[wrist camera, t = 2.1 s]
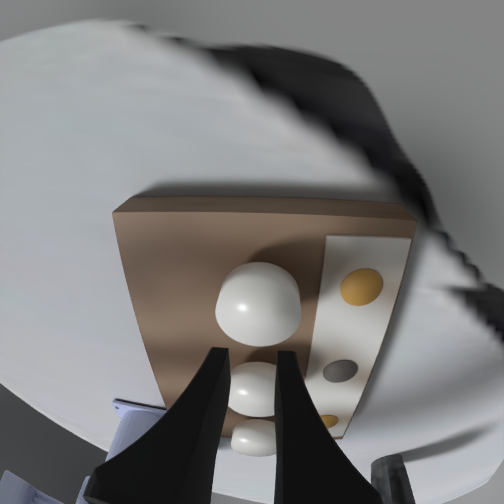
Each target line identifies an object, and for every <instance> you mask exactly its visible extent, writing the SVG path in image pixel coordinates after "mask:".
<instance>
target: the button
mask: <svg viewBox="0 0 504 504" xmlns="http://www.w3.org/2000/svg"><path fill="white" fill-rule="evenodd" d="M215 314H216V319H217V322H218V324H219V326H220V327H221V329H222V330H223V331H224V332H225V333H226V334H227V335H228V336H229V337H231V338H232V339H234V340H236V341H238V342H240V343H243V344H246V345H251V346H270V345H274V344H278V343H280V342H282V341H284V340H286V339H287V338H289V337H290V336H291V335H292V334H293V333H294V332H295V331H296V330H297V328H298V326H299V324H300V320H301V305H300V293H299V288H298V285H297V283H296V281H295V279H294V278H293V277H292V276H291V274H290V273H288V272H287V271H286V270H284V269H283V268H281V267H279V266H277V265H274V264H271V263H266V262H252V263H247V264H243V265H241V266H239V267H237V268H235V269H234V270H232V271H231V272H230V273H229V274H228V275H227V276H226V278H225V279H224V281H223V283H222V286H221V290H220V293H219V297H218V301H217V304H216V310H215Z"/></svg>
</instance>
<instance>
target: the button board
mask: <svg viewBox="0 0 504 504" xmlns="http://www.w3.org/2000/svg"><path fill="white" fill-rule="evenodd" d="M112 216H113V221H114V226H115V232H116V237H117V242H118V246H119V251H120V256H121V260H122V265H123V269H124V273H125V277H126V282H127V286H128V290H129V293H130V297H131V301H132V305H133V308H134V312H135V316H136V319H137V323H138V326H139V329H140V333H141V336H142V339H143V343H144V346H145V349H146V352H147V355H148V358H149V361H150V364H151V367H152V370H153V373H154V376H155V379H156V382H157V384H158V387H159V390H160V393H161V395H162V398H163V401H164V403H165V406H166V408H167V411H168V410H169V408H170V407H171V406H172V405H173V404H174V403H175V401H176V400H177V399H178V398H179V396H180V395H181V394H182V393H183V391H184V390H185V389H186V387H187V386H188V384H189V383H190V382H191V380H192V379H193V377H194V376H195V374H196V373H197V371H198V370H199V368H200V366H201V365H202V363H203V361H204V360H205V358H206V356H207V354H208V352H209V350H210V349H211V348H212V347H221V348H229V360H230V372H231V370H232V369H233V368H235V367H236V366H238V365H241V364H244V363H248V362H265V363H270V364H273V365H276V364H277V350H278V351H294V352H295V353H296V355H297V360H298V364H299V367H300V371H301V374H302V377H303V379H304V382H305V385H306V387H307V390H308V392H309V394H310V397H311V399H312V401H313V403H314V405H315V407H316V409H317V411H318V413H319V415H320V417H321V419H322V421H323V422H324V424H325V426H326V428H327V429H328V431H329V432H330V434H331V436H332V437H333V439H334V440H335V439H342V438H343V436H344V434H345V432H346V430H347V428H348V426H349V424H350V422H351V420H352V417H353V415H354V413H355V411H356V409H357V406H358V404H359V402H360V400H361V397H362V395H363V393H364V390H365V388H366V386H367V383H368V381H369V378H370V376H371V373H372V371H373V368H374V366H375V363H376V360H377V358H378V355H379V352H380V350H381V347H382V344H383V341H384V338H385V336H386V333H387V330H388V327H389V324H390V321H391V318H392V314H393V311H394V308H395V305H396V302H397V298H398V295H399V291H400V288H401V284H402V281H403V277H404V273H405V270H406V266H407V262H408V258H409V254H410V250H411V245H412V241H413V237H414V232H415V227H416V223H417V220H416V219H415V218H414V217H413V216H412V215H411V214H410V213H409V212H408V211H407V210H406V209H405V208H404V207H403V206H402V205H401V204H393V203H380V202H366V201H351V200H333V199H313V198H288V197H251V196H161V197H130V198H129V199H128V200H127V201H125V202H124V203H123V204H122V205H120V206H119V207H118V208H117V209H116V210H114V211H113V212H112ZM252 262H266V263H271V264H274V265H277V266H279V267H281V268H283V269H284V270H286V271H287V272H288V273H290V274H291V276H292V277H293V278H294V279H295V281H296V283H297V285H298V288H299V293H300V305H301V320H300V324H299V326H298V328H297V330H296V331H295V332H294V333H293V334H292V335H291V336H290V337H289V338H287V339H286V340H284V341H282V342H280V343H278V344H274V345H270V346H251V345H246V344H243V343H240V342H238V341H236V340H234V339H232V338H231V337H229V336H228V335H227V334H226V333H225V332H224V331H223V330H222V329H221V327H220V326H219V324H218V322H217V319H216V314H215V310H216V304H217V301H218V297H219V293H220V290H221V286H222V283H223V281H224V279H225V278H226V276H227V275H228V274H229V273H230V272H231V271H232V270H234V269H235V268H237V267H239V266H241V265H243V264H247V263H252ZM250 419H260V420H267V421H271V422H274V423H275V416H274V415H272V416H267V417H252V416H247V415H243V414H240V413H238V412H236V411H234V410H233V409H231V408H230V407H229V406H228V408H227V412H226V416H225V420H224V424H223V429H222V433H221V437H230V438H232V434H233V427H234V425H235V424H237V423H238V422H241V421H244V420H250Z"/></svg>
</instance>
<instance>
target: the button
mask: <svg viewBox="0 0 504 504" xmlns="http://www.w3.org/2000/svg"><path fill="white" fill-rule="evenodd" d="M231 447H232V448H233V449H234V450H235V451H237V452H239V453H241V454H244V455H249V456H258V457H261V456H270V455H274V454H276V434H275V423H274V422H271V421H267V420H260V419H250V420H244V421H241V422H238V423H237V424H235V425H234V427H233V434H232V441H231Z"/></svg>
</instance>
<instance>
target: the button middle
mask: <svg viewBox="0 0 504 504" xmlns="http://www.w3.org/2000/svg"><path fill="white" fill-rule="evenodd" d="M275 377H276V365H273V364H270V363H265V362H248V363H244V364H241V365H238V366H236V367H235V368H233V369H232V370H231V387H230V395H229V403H228V406H229V407H230V408H231V409H233V410H234V411H236V412H238V413H240V414H243V415H247V416H252V417H267V416H272V415H274V394H275Z"/></svg>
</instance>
